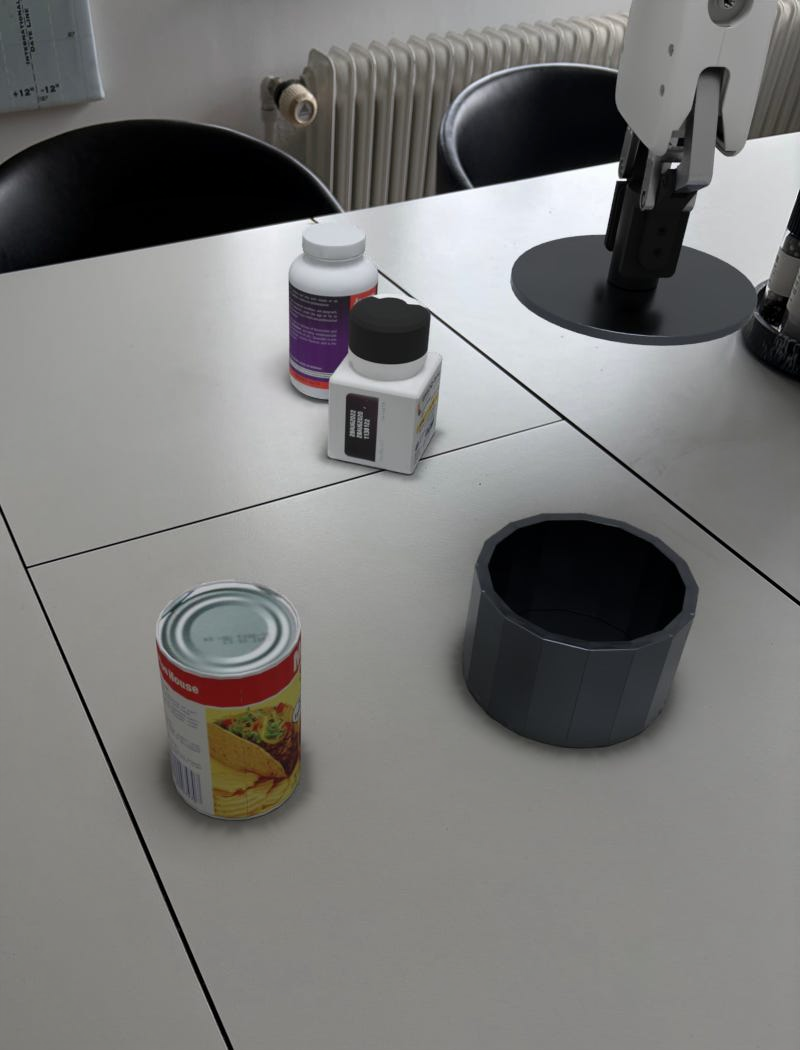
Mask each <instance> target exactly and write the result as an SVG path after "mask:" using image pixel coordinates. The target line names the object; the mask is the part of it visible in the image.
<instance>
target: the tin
mask: <svg viewBox="0 0 800 1050" xmlns="http://www.w3.org/2000/svg"><path fill="white" fill-rule="evenodd" d="M470 589H471V590H470V597H469V602H468V612H467V616H466V617H467V618H466V625H465V632H464V638H463V645H462V651H461V658H462V672H463V676H464V680H465V684H466V685H467V688H468V689H469V691H470V694H471V695H472V696H473V698H474V699H475V701H476V702H477V703H478V704H479V706H480V707H481V708H482V710H484V712H486V713H487V714H488V715H490V717H492V718H493V720H496V721H497V722H498V723H500V724H501V725H503V726H504V727H506V728H508V729H510V730H511V731H512V732H515V733H516V734H519V735H522V736H524V737H526V738H529V739H531V740H535V741H537V742H539V743H540V742H541V743H545V744H548V745H553V746H559V747H567V748H580V749H581V748H584V749H585V748H600V747H605V746H610V745H614V744H617V743H621V742H625V741H626V740H628V739H631V738H633V737H635V736H636V735H638V734H640V733H641V732H643V731H644V730H646V729H647V728H648V727H649V726H650V725H651V724H652V723H653V722H654V721H655V720H656V718H657V717H658V715H659V713H660V712H661V710H662V709H663V708H665V707H664V706H665V704H666V701H667V698H668V696H669V693H670V690H671V688H672V684H673V681H674V679H675V675H676V672H677V670H678V667H679V663H680V660H681V659H682V655H683V653H684V650H685V649H684V648H685V646H686V643H687V639H688V638H689V634H690V631H691V628H692V625H693V622H694V619H695V616H696V612H697V605H698V600H699V594H700V593H699V592H700V587H699V585H698V583H697V581H696V579H695V576H694V574H693V572H692V571H691V569H690V567H689V564H688V562H687V561H686V560H685V559H684V558H683V557H682V556H680V554H678V553H677V552H676V551H675V550H674V549H673V548H671V547H670V546H669V545H668V544H667V543H665V541H663V540H662V539H661V538H660V537H658V536H656V535H653V534H651V533H649V532H647V531H645V530H643V529H641V528H638V527H636V526H634V525H632V524H630V523H628V522H626V521H623V520H618V519H614V518H610V517H605V516H601V515H595V514H591V513H586V512H542V513H539V514H535V515H531V516H528V517H525V518H520V519H516V520H513V521H509V523H507V524H505V525H504V526H503V527H502V528H500V529H499V530H498V531H496V532H495V533H493V534H492V535H491V536H489V537H488V538H487V539H485V541H484V542H483V544H482V547H481V549H480V552H479V554H478V556H477V559H476V561H475V563H474V569H473V577H472V582H471V588H470Z"/></svg>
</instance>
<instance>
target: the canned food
mask: <svg viewBox="0 0 800 1050" xmlns="http://www.w3.org/2000/svg"><path fill="white" fill-rule="evenodd" d="M154 636H155V637H154V638H155V645H156V653H157V654H156V655H157V661H158V668H159V676H160V677H159V678H160V686H161V693H162V700H163V709H164V716H165V723H166V725H165V726H166V731H167V740H168V747H169V748H168V749H169V756H170V764H171V770H172V779H173V783H174V785H175V788H176V791H177V793H178V794H179V795H180V796H181V798H182V800H183V801H184V802H185V803H186V804H188V806H190V807H191V808H192V809H194V810H196V812H198V813H201V814H203V815H205V816H208V817H211V818H213V819H219V820H227V821H241V820H250V819H253V818H257V817H261V816H264V815H266V814H268V813H270V812H271V811H274V810H276V809H277V808H279V807H280V806H281V805H283V804H284V803H285V802H286V801H287V800H288V799H289V798H291V795H292V794H293V793H294V792H295V789H296V788H297V786H298V784H299V780H300V777H301V772H302V625H301V616H300V613H299V612H298V610H297V608H296V606H295V605H294V603H293V602H292V601H291V600H290V599H289V598H288V597H286V595H284V594H283V593H282V592H280V591H278V590H276V589H275V588H273V587H271V586H270V585H265V584H262V583H259V582H256V581H254V580H253V581H252V580H246V579H245V580H244V579H237V578H235V579H217V580H212V581H208V582H203V583H199V584H196V585H193V586H192V587H189V588H186V589H185V590H183V591H181V592H180V593H178V594H176V595H175V596H174V597H172V598H171V599H170V600H169V601H168V602H167V603H166V604H165V606H164V607H163V608H161V610H160V613H159V615H158V617H157V619H156V621H155V631H154Z"/></svg>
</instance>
